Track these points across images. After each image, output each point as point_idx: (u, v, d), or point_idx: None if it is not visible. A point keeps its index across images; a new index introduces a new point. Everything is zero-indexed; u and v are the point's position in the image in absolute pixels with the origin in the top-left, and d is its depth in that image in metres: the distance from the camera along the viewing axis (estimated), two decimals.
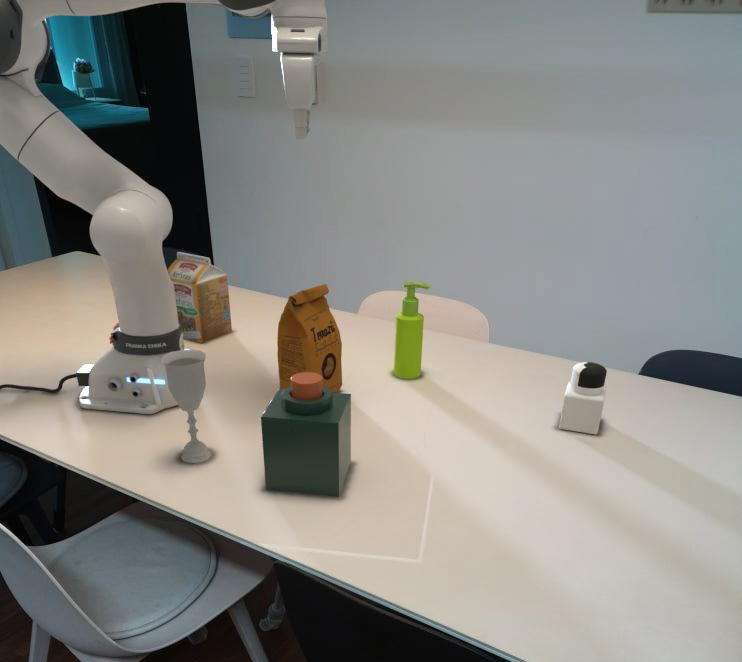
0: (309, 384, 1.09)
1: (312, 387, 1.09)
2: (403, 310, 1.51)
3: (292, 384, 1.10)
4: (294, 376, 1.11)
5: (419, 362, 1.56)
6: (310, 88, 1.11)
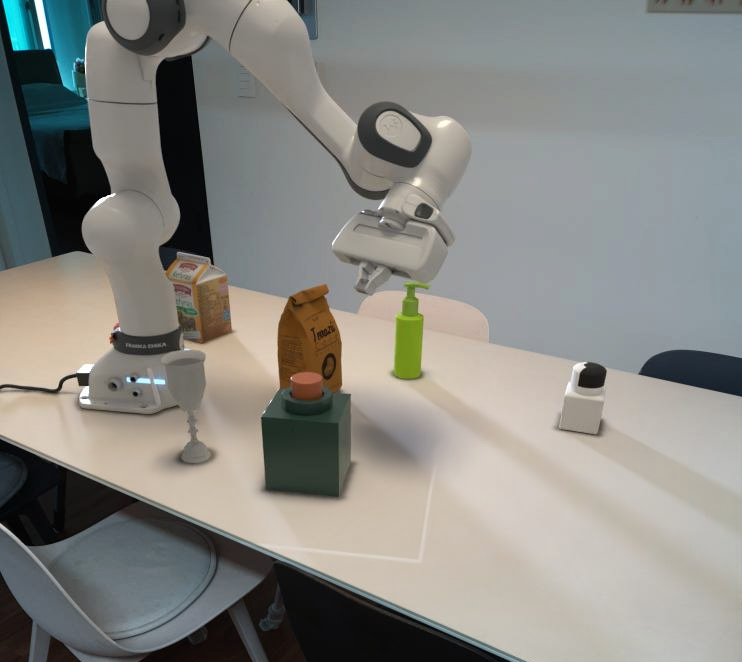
0: (309, 384, 1.09)
1: (312, 387, 1.09)
2: (403, 310, 1.51)
3: (292, 384, 1.10)
4: (294, 376, 1.11)
5: (419, 362, 1.56)
6: None
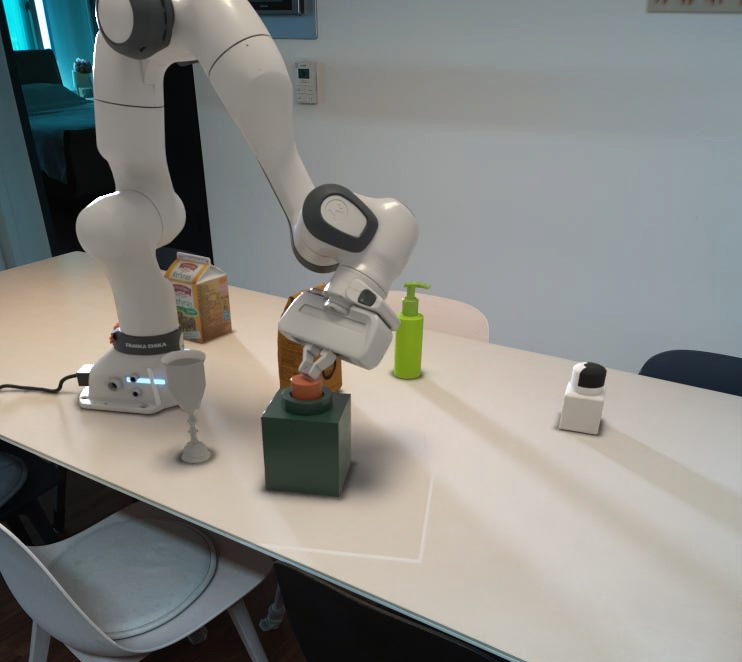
0: (309, 385, 1.09)
1: (312, 388, 1.09)
2: (403, 310, 1.51)
3: (292, 385, 1.10)
4: (294, 377, 1.11)
5: (419, 362, 1.56)
6: (383, 356, 1.07)
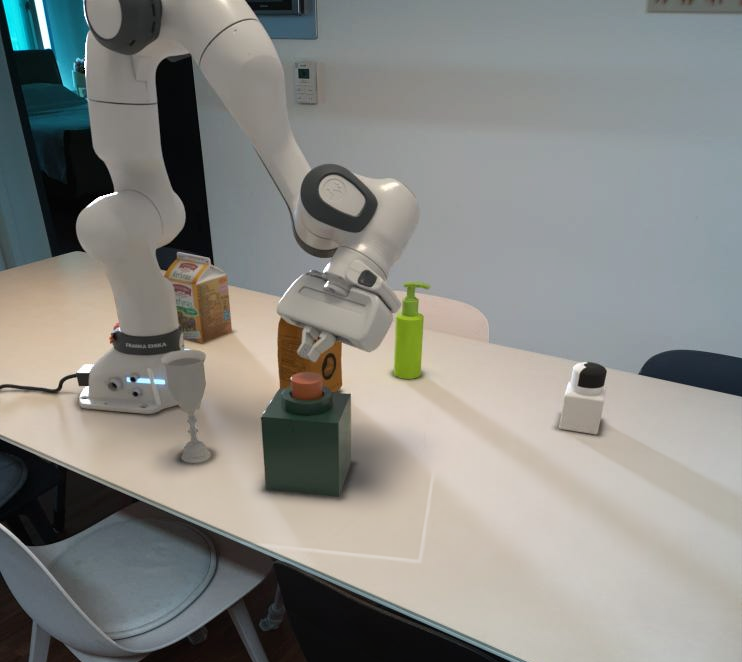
0: (309, 384, 1.09)
1: (312, 387, 1.09)
2: (403, 310, 1.51)
3: (292, 384, 1.10)
4: (294, 376, 1.11)
5: (419, 362, 1.56)
6: (383, 338, 1.05)
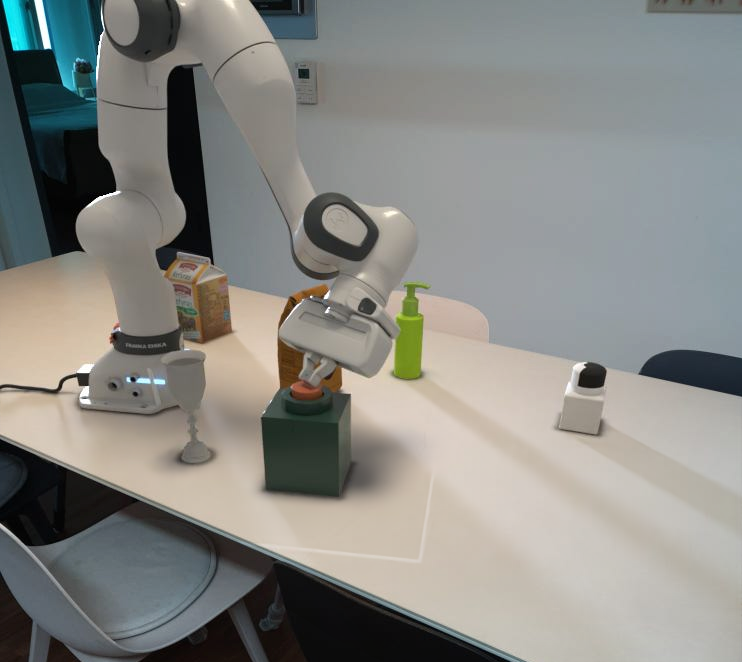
0: (309, 392, 1.10)
1: (312, 396, 1.10)
2: (403, 310, 1.51)
3: (293, 393, 1.11)
4: (294, 385, 1.12)
5: (419, 362, 1.56)
6: (382, 365, 1.07)
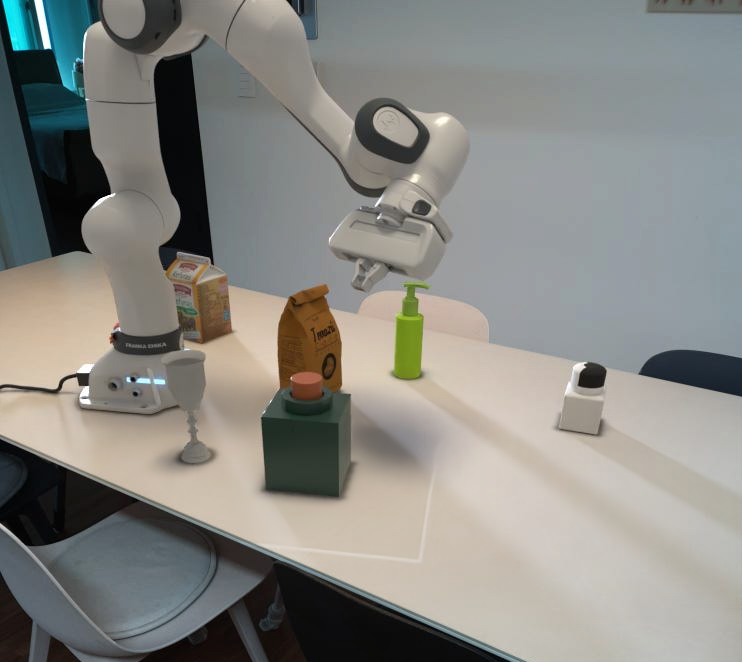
0: (309, 384, 1.09)
1: (312, 387, 1.09)
2: (403, 310, 1.51)
3: (292, 384, 1.10)
4: (294, 376, 1.11)
5: (419, 362, 1.56)
6: (436, 267, 1.08)
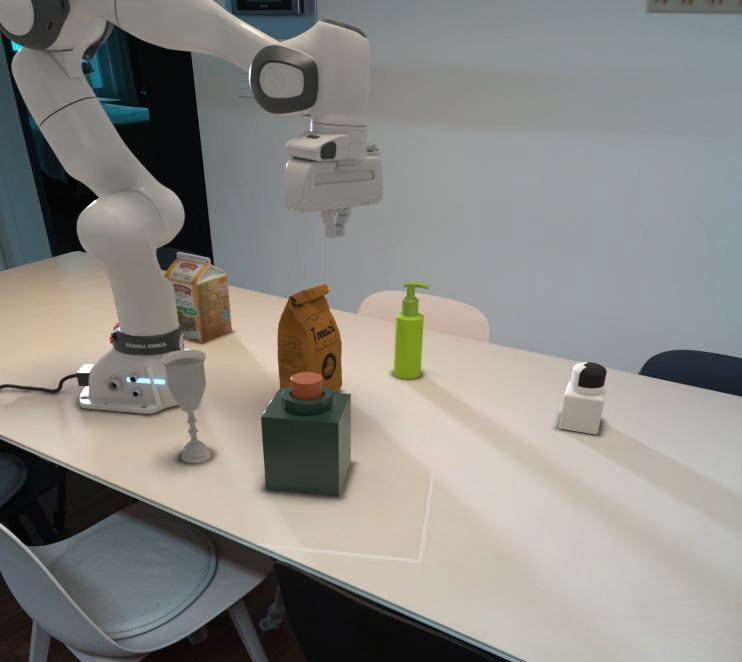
0: (309, 384, 1.09)
1: (312, 387, 1.09)
2: (403, 310, 1.51)
3: (292, 384, 1.10)
4: (294, 376, 1.11)
5: (419, 362, 1.56)
6: (302, 194, 1.08)
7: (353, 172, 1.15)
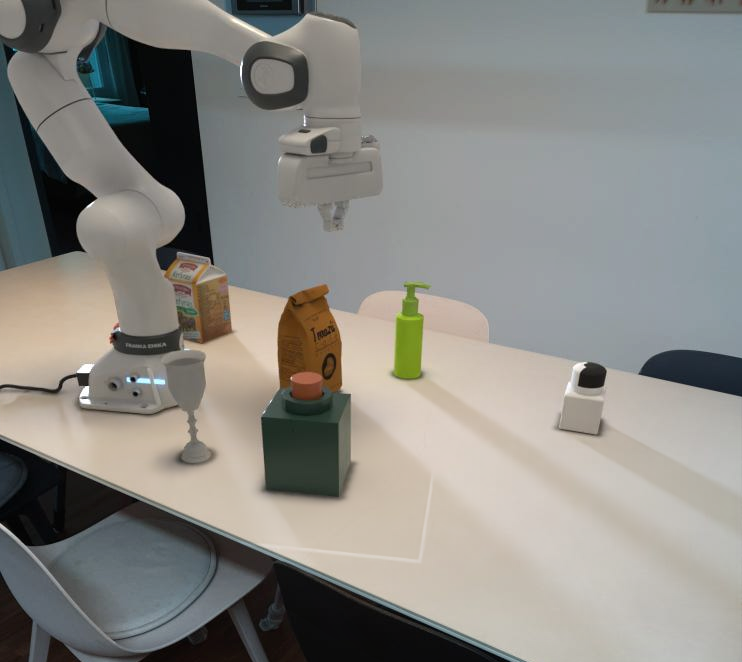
0: (309, 384, 1.09)
1: (312, 387, 1.09)
2: (403, 310, 1.51)
3: (292, 384, 1.10)
4: (294, 376, 1.11)
5: (419, 362, 1.56)
6: (294, 189, 1.08)
7: (349, 165, 1.15)
